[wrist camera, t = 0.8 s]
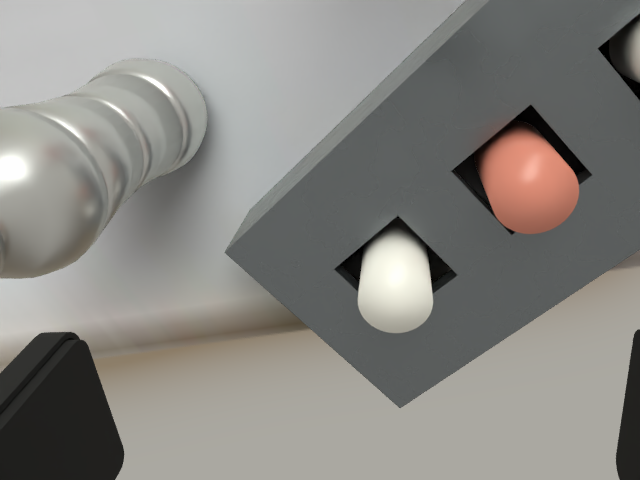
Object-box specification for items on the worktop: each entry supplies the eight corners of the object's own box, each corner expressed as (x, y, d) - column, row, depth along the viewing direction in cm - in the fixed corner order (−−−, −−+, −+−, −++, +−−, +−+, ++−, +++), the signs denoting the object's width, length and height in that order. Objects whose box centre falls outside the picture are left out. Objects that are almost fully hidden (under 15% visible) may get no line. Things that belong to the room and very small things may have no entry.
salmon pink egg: (516, 105, 29) (543, 137, 23) (560, 155, 30) (596, 197, 24) (459, 153, 30) (473, 193, 25) (503, 200, 31) (525, 249, 26)
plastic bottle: (223, 159, 35) (43, 360, 17) (119, 161, 36) (-157, 354, 18) (209, 49, 32) (-24, 152, 14) (97, 54, 33) (-255, 156, 15)
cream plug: (397, 206, 32) (397, 254, 26) (440, 249, 33) (448, 304, 27) (351, 245, 33) (342, 299, 28) (393, 285, 34) (392, 345, 29)
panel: (655, -184, 26) (724, -224, 20) (816, 48, 29) (913, 68, 23) (250, 210, 36) (224, 252, 31) (399, 348, 39) (400, 408, 34)
